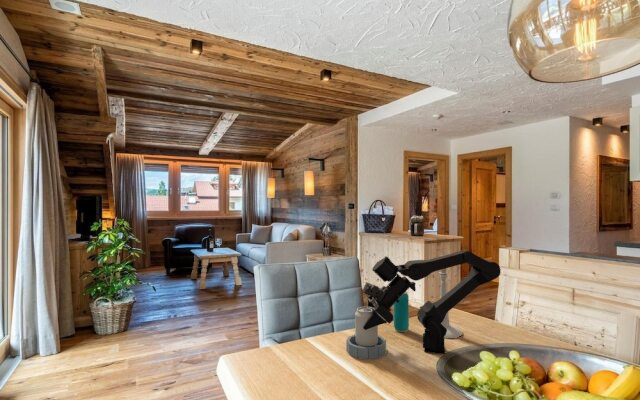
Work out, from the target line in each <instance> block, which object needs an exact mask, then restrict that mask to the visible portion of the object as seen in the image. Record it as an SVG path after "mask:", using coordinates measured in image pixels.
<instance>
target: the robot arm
mask: <svg viewBox="0 0 640 400" xmlns="http://www.w3.org/2000/svg"><path fill="white" fill-rule="evenodd" d="M443 255H444V256H441V257H440V256H437V257H433V258H431V259H414V260H408V261H406V262H405V263H404V264H398V265H396V264H394V262H392V260H391V259H390V258H389V257H388V256H384V257H383V258H382V259H380V260H379V261H377V262H376V263H375V264H374V265H373V267H372V269H371V270H372V272H373V273H375V275H377V276H378V277H379V278H380V279H381V280H382V281H383V282H385V283H386V282H389V283H388V284H387V285H386V286H385V285H383V286H382V287H379V286H378V285H375V284H372V283H370V282H365V285H364V287H363V289H362V292H363V294H365V295H366V297H367V298H366V304H367V305H366V307H372V315H371V316H370V318H369V319H368V321H367V322H366V323H365V325H364V327H363V329H365V330H367V329H370V328H372V327H375V326H378V327H379V326H380V325H384V324H391V323H392V322H394V313H392V312H391V311H392V309H391V308H393V307H394V304H395V303H396V302H397V303H398V302H399V300H398V299H399V298H400V297H401V296H402V295H403V294H404V293H405V292H406V291H407V292H408V290H409V289H411V290H412V291H413V292H416V291H417V290H416V289H417V288H416V282H415V281H420V280H423V279H424V278H427V277H429V276H430V275H431V274H432V273H434V272H438V271H441V270H442V269H446V270H447V269H449V268H452V267H457V266H460V265H464V264H467V265H469V266H470V267H471V269H470V270H469V273H468V275H467V276H466V277H465V278H463V279H462V280H461V281H460V282H459V283H457V284H456V285H455V286H454V287H453V288H451V289H450V290H449V291H447V294H445V295H444V296H443V297H442V298H441V299H440V298H439V299H438V300H436V301H435V302H431V300H429V299H428V300H427V301H426V302H425V303H424V304H423V305H421V306H419V309H418V310H417V315H416V316H417V320H418V321H419V323H420V324H421V325H422V326H423V328H424V332H423V334H422V348H423V349H424V350H423V351H424V353H430V354H439V355H445V354H446V347H445V338H444V336H445V335H446V332H447V329H446V328H445V327H444V326H443V325H442V324H441V323H442V322H443V320H444V318H445V316H446V314H447V312H448V313H449V312H450V311H451V310H452V309H453V308H454V307H456V306H457V305H458V304H459V303H461V301H462V300H464V299H465V298H467V297H468V296H469V295H470V294H471V293H472V292H474V291H475V290H476V289H477V288H478V287H480V286H483V285H485V284H489V283H490V282H493V281H494V280H496V279H497V278H499V276H501V274H502V273H501V267H500V265H499V264H498V262H495V261H492V260H489V259H486V258H485V259H484V258H482V257H480V256H478V255H476V254H474V253H473V252H472V251H470V250H466V249H461V250H459V251H456V252H453V253H449V254H443ZM398 273H400V274H401V275H400V274H398ZM407 277H408V278H409V279H408V278H407ZM410 279H411V280H413V281H410ZM373 308H374V309H375V310H374V309H373Z"/></svg>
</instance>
